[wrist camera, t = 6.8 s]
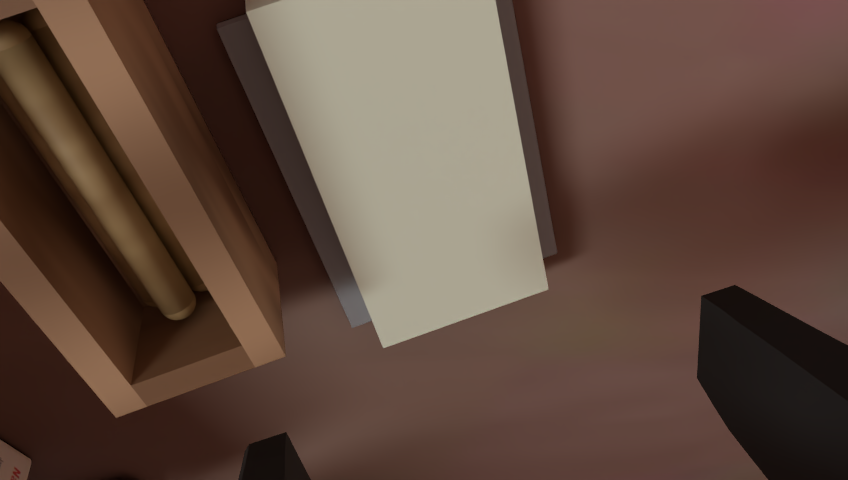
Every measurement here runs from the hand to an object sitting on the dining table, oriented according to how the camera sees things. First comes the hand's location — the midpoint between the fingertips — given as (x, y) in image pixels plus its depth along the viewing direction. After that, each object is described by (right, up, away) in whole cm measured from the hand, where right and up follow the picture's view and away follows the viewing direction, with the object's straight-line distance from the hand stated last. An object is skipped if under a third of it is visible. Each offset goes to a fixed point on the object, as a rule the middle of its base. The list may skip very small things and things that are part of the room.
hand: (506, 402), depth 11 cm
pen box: (-9, +5, +6) cm, 12 cm away
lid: (-2, +5, +7) cm, 9 cm away
